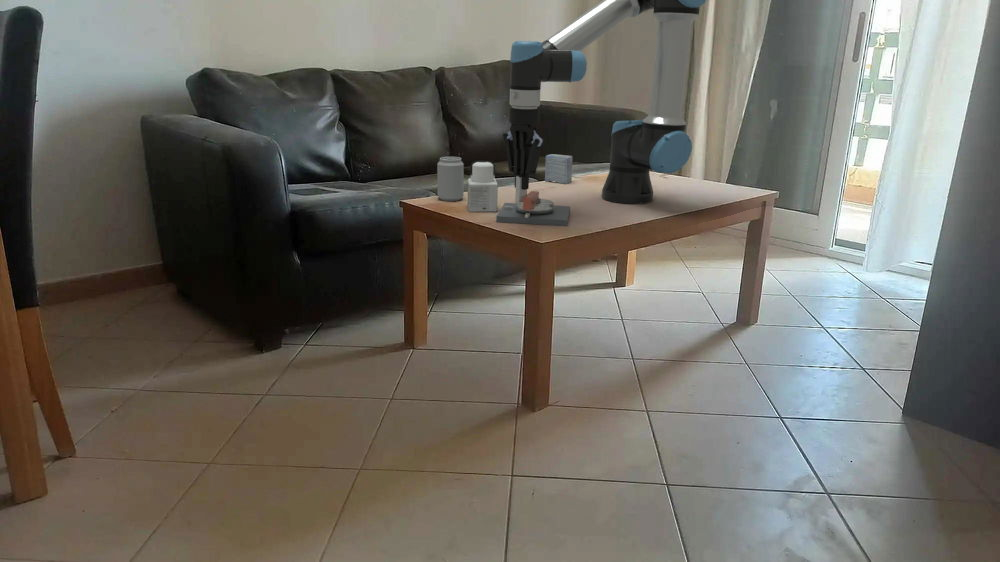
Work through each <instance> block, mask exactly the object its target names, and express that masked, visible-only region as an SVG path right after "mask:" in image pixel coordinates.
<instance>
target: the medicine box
mask: <svg viewBox="0 0 1000 562" xmlns="http://www.w3.org/2000/svg"><path fill="white" fill-rule="evenodd" d="M544 165H545V171H544V173H545V174H544V182H547V181H555V182H558V183H557V184H563V185H567V184H570V183H572V178H573V156H572V155H567V154H566V155H564V154H555V153H554V154H553V153H551V154H547V155H545V164H544ZM555 182H554V183H555Z"/></svg>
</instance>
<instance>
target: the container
mask: <svg viewBox="0 0 1000 562" xmlns="http://www.w3.org/2000/svg"><path fill="white" fill-rule="evenodd" d="M495 173H496V164H495V163H494V162H492V161H490V160H475V161H473V162H471V163H470V177H469V178H468V179H467V208H468V212H470V213H471V212H472V213H473V212H477V213H479V212H483V213H484V212H487V213H488V212H489V213H491V212H494V213H495V212H498V198H499V197H498V193H499V192H498V191H499V189H498V187H499V186H498V185H499V184H498V182H497V179H496V178H495Z"/></svg>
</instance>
